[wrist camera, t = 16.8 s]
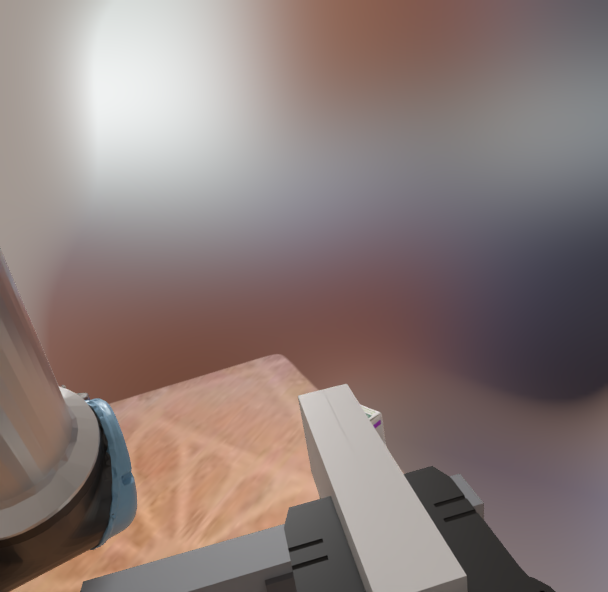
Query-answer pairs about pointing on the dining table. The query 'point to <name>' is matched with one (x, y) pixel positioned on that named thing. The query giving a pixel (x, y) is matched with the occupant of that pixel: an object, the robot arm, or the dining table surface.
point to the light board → (225, 565)
